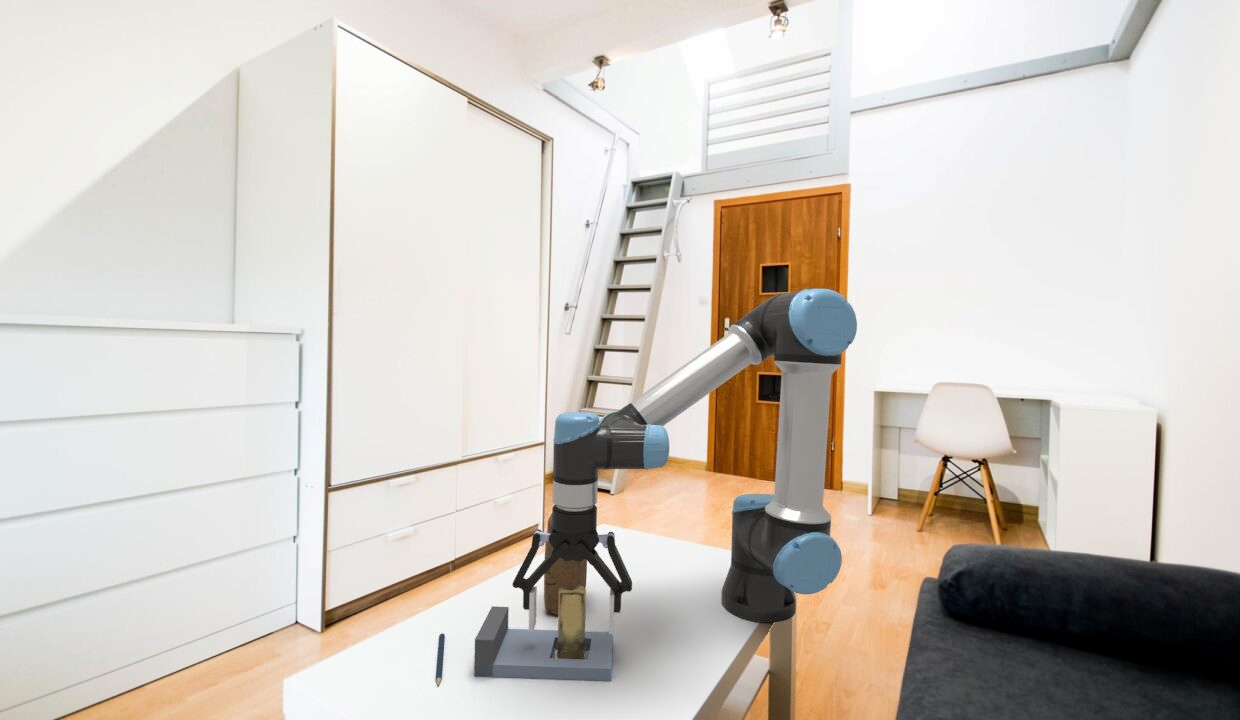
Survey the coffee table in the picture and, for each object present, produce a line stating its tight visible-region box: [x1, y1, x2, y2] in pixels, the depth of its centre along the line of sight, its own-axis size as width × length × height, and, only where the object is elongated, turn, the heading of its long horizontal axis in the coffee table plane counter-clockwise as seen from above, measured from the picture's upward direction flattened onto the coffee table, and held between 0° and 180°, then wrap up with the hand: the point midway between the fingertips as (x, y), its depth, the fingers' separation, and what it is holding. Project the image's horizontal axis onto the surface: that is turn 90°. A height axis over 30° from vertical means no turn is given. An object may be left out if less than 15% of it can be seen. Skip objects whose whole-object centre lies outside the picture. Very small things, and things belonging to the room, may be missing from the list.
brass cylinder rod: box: [556, 584, 587, 660], centre depth 93 cm, size 5×5×12 cm
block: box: [543, 513, 588, 616], centre depth 112 cm, size 11×8×20 cm
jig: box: [473, 606, 614, 682], centre depth 93 cm, size 22×11×6 cm, turn 89°
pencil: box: [435, 633, 446, 687], centre depth 92 cm, size 1×1×15 cm
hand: (571, 628), depth 93 cm, fingers open, 13 cm apart
